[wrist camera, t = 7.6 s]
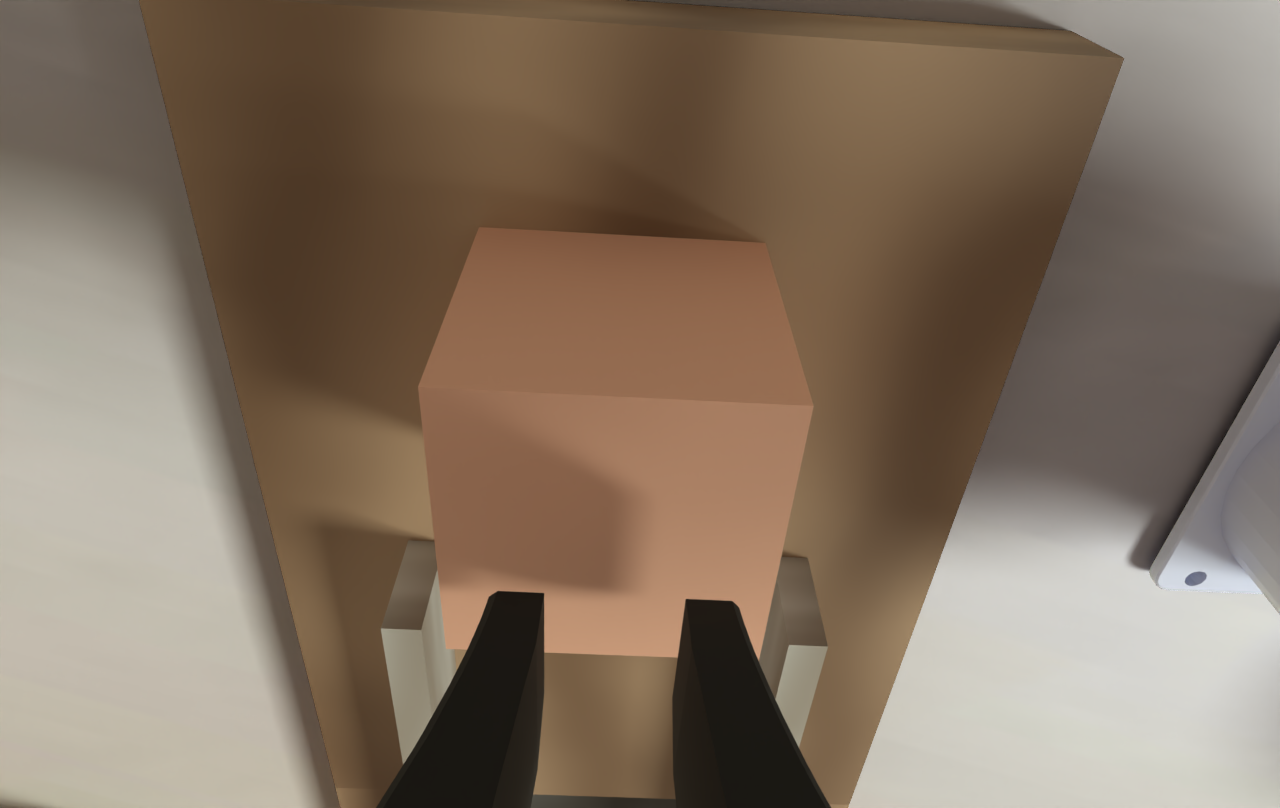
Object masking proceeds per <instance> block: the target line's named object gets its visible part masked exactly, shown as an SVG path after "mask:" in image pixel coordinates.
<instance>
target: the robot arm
mask: <svg viewBox="0 0 1280 808" xmlns="http://www.w3.org/2000/svg"><path fill="white" fill-rule="evenodd" d="M1149 573H1150V576H1151V578H1152V580H1153V581H1154V583H1155V584H1156V585H1157V586H1158V587H1159V588H1161V589H1165V590H1179V591H1201V592H1224V593H1247V594H1264V595H1265V597H1266V598H1267V599H1268V600H1269V602H1270V603H1271V604H1272V605H1273V607H1274V608H1275V609H1276V610H1277V612H1278V613H1279V614H1280V341H1279V343H1278V345H1277V347H1276V348H1275V350H1274V352H1273V354H1272V355H1271V357H1270V359H1269V361H1268V362H1267V364H1266V366H1265V368H1264V369H1263V371H1262V373H1261V375H1260V376H1259V378H1258V380H1257V382H1256V383H1255V385H1254V387H1253V389H1252V390H1251V392H1250V394H1249V396H1248V397H1247V399H1246V401H1245V403H1244V404H1243V406H1242V408H1241V410H1240V411H1239V413H1238V415H1237V417H1236V418H1235V420H1234V422H1233V424H1232V425H1231V427H1230V429H1229V431H1228V432H1227V434H1226V436H1225V438H1224V439H1223V441H1222V443H1221V445H1220V446H1219V448H1218V450H1217V452H1216V453H1215V455H1214V457H1213V459H1212V460H1211V462H1210V464H1209V466H1208V467H1207V469H1206V471H1205V473H1204V474H1203V476H1202V478H1201V480H1200V482H1199V483H1198V485H1197V487H1196V489H1195V490H1194V492H1193V494H1192V496H1191V497H1190V499H1189V501H1188V503H1187V504H1186V506H1185V508H1184V510H1183V511H1182V513H1181V515H1180V517H1179V518H1178V520H1177V522H1176V524H1175V525H1174V527H1173V529H1172V531H1171V532H1170V534H1169V536H1168V538H1167V539H1166V541H1165V543H1164V545H1163V546H1162V548H1161V550H1160V552H1159V553H1158V555H1157V557H1156V559H1155V560H1154V562H1153V564H1152V566H1151V568H1150V571H1149ZM543 702H544V593H535V592H511V591H497V592H495V593H494V594H492V595H491V596H489V598H488V601H487V603H486V606H485V609H484V612H483V614H482V617H481V619H480V622H479V624H478V626H477V629H476V631H475V633H474V636H473V638H472V640H471V642H470V645H469V647H468V649H467V651H466V653H465V655H464V657H463V659H462V661H461V663H460V665H459V667H458V669H457V671H456V673H455V675H454V677H453V679H452V681H451V683H450V685H449V687H448V688H447V690H446V692H445V694H444V696H443V697H442V699H441V701H440V703H439V705H438V706H437V708H436V710H435V712H434V714H433V715H432V717H431V719H430V721H429V722H428V724H427V726H426V728H425V730H424V731H423V733H422V735H421V737H420V738H419V740H418V742H417V743H416V745H415V747H414V748H413V750H412V752H411V753H410V755H409V756H408V758H407V760H406V761H405V763H404V764H403V766H402V767H401V769H400V771H399V772H398V774H397V775H396V777H395V778H394V780H393V782H392V783H391V785H390V786H389V788H388V790H387V791H386V793H385V794H384V796H383V797H382V799H381V801H380V802H379V804H378V805H377V807H376V808H531V803H532V798H533V792H534V787H535V781H536V776H537V770H538V759H539V748H540V737H541V726H542V714H543ZM672 724H673V778H674V788H675V798H676V807H677V808H831V806H830V805H829V803H828V801H827V799H826V798H825V796H824V794H823V792H822V791H821V789H820V787H819V785H818V783H817V781H816V780H815V778H814V776H813V774H812V772H811V770H810V768H809V767H808V765H807V763H806V761H805V759H804V757H803V755H802V753H801V751H800V749H799V747H798V745H797V743H796V741H795V739H794V737H793V735H792V733H791V731H790V729H789V727H788V725H787V723H786V721H785V719H784V717H783V715H782V713H781V711H780V708H779V706H778V704H777V702H776V700H775V698H774V695H773V693H772V691H771V689H770V686H769V684H768V682H767V680H766V677H765V675H764V673H763V670H762V668H761V666H760V663H759V661H758V658H757V656H756V653H755V651H754V648H753V646H752V643H751V641H750V638H749V635H748V632H747V630H746V627H745V624H744V621H743V618H742V615H741V612H740V608H739V607H738V606H737V605H736V604H735V603H734V602H733V601H724V600H701V599H686V600H685V608H684V615H683V622H682V630H681V637H680V644H679V652H678V659H677V666H676V674H675V681H674V688H673V696H672Z"/></svg>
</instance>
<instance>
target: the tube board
mask: <svg viewBox="0 0 1280 808" xmlns="http://www.w3.org/2000/svg"><path fill="white" fill-rule="evenodd" d="M139 3H140V7H141V11H142V15H143V19H144V23H145V27H146V31H147V35H148V39H149V43H150V47H151V51H152V55H153V59H154V63H155V67H156V71H157V75H158V79H159V83H160V87H161V91H162V95H163V99H164V103H165V107H166V111H167V115H168V119H169V123H170V127H171V131H172V135H173V139H174V143H175V147H176V151H177V155H178V159H179V163H180V167H181V171H182V175H183V179H184V183H185V187H186V191H187V195H188V199H189V203H190V207H191V211H192V215H193V219H194V223H195V227H196V231H197V235H198V239H199V243H200V247H201V251H202V255H203V259H204V263H205V267H206V271H207V275H208V279H209V283H210V287H211V291H212V295H213V299H214V303H215V307H216V311H217V315H218V319H219V323H220V327H221V331H222V335H223V339H224V344H225V348H226V352H227V356H228V360H229V364H230V368H231V372H232V376H233V380H234V384H235V388H236V392H237V396H238V400H239V404H240V408H241V412H242V416H243V420H244V424H245V428H246V432H247V436H248V440H249V444H250V448H251V452H252V456H253V460H254V464H255V468H256V472H257V476H258V480H259V484H260V488H261V492H262V496H263V500H264V504H265V508H266V512H267V516H268V520H269V524H270V528H271V532H272V536H273V540H274V544H275V548H276V552H277V556H278V560H279V564H280V568H281V572H282V576H283V580H284V584H285V588H286V592H287V596H288V600H289V604H290V608H291V612H292V616H293V620H294V624H295V628H296V632H297V636H298V640H299V644H300V648H301V652H302V656H303V660H304V664H305V668H306V672H307V676H308V680H309V684H310V688H311V692H312V696H313V700H314V704H315V708H316V712H317V716H318V720H319V724H320V728H321V732H322V736H323V740H324V744H325V748H326V752H327V756H328V760H329V764H330V768H331V772H332V776H333V780H334V784H335V788H336V792H337V796H338V800H339V804H340V808H376V807H377V805H378V804H379V802H380V801H381V799H382V797H383V796H384V794H385V793H386V791H387V790H388V788H389V786H390V785H391V783H392V782H393V780H394V778H395V777H396V775H397V774H398V772H399V771H400V769H401V767H402V766H403V764H404V763H405V761H406V760H407V758H408V756H409V755H410V753H411V752H412V750H413V748H414V747H415V745H416V743H417V742H418V740H419V738H420V737H421V735H422V733H423V731H424V730H425V728H426V726H427V724H428V722H429V721H430V719H431V717H432V715H433V714H434V712H435V710H436V708H437V706H438V705H439V703H440V701H441V699H442V697H443V696H444V694H445V692H446V690H447V688H448V687H449V685H450V683H451V681H452V679H453V677H454V675H455V673H456V671H457V669H458V667H459V665H460V663H461V661H462V659H463V657H464V655H465V653H466V651H467V650H462V649H446V645H445V635H444V626H443V617H442V607H441V598H440V589H439V579H438V570H437V561H436V551H435V542H434V533H433V523H432V514H431V504H430V495H429V486H428V476H427V467H426V458H425V448H424V439H423V430H422V420H421V411H420V402H419V392H418V386H419V383H420V380H421V378H422V375H423V373H424V370H425V367H426V365H427V362H428V359H429V357H430V354H431V352H432V349H433V346H434V344H435V341H436V338H437V336H438V333H439V331H440V328H441V325H442V323H443V320H444V318H445V315H446V312H447V310H448V307H449V304H450V302H451V299H452V297H453V294H454V291H455V289H456V286H457V283H458V281H459V278H460V276H461V273H462V270H463V268H464V265H465V262H466V260H467V257H468V255H469V252H470V249H471V247H472V244H473V242H474V239H475V236H476V234H477V231H478V228H479V227H487V228H505V229H524V230H542V231H560V232H578V233H596V234H614V235H633V236H651V237H669V238H687V239H705V240H724V241H742V242H760V243H766V247H767V250H768V253H769V257H770V260H771V263H772V267H773V270H774V274H775V277H776V280H777V284H778V287H779V290H780V294H781V297H782V301H783V304H784V307H785V311H786V314H787V318H788V321H789V324H790V328H791V331H792V334H793V338H794V341H795V345H796V348H797V351H798V355H799V358H800V361H801V365H802V368H803V372H804V375H805V378H806V382H807V385H808V389H809V392H810V395H811V399H812V402H813V405H814V407H813V412H812V416H811V421H810V426H809V430H808V435H807V440H806V444H805V449H804V454H803V458H802V463H801V468H800V472H799V477H798V481H797V486H796V491H795V495H794V500H793V505H792V509H791V514H790V519H789V523H788V528H787V533H786V537H785V542H784V547H783V551H782V556H781V560H780V565H779V570H778V574H777V579H776V584H775V588H774V593H773V598H772V602H771V607H770V612H769V616H768V621H767V626H766V630H765V635H764V639H763V644H762V649H761V653H760V658H759V663H760V666H761V668H762V670H763V673H764V675H765V677H766V680H767V682H768V684H769V686H770V689H771V691H772V693H773V695H774V698H775V700H776V702H777V704H778V706H779V708H780V711H781V713H782V715H783V717H784V719H785V721H786V723H787V725H788V727H789V729H790V731H791V733H792V735H793V737H794V739H795V741H796V743H797V745H798V747H799V749H800V751H801V753H802V755H803V757H804V759H805V761H806V763H807V765H808V767H809V768H810V770H811V772H812V774H813V776H814V778H815V780H816V781H817V783H818V785H819V787H820V789H821V791H822V792H823V794H824V796H825V798H826V799H827V801H828V803H829V805H830V806H831V808H848V806H849V803H850V801H851V798H852V795H853V793H854V790H855V787H856V784H857V782H858V779H859V776H860V774H861V771H862V768H863V765H864V763H865V760H866V757H867V755H868V752H869V749H870V746H871V744H872V741H873V738H874V736H875V733H876V730H877V727H878V725H879V722H880V719H881V717H882V714H883V711H884V708H885V706H886V703H887V700H888V698H889V695H890V692H891V689H892V687H893V684H894V681H895V679H896V676H897V673H898V670H899V668H900V665H901V662H902V660H903V657H904V654H905V652H906V649H907V646H908V643H909V641H910V638H911V635H912V633H913V630H914V627H915V624H916V622H917V619H918V616H919V614H920V611H921V608H922V605H923V603H924V600H925V597H926V595H927V592H928V589H929V586H930V584H931V581H932V578H933V576H934V573H935V570H936V567H937V565H938V562H939V559H940V557H941V554H942V551H943V548H944V546H945V543H946V540H947V538H948V535H949V532H950V529H951V527H952V524H953V521H954V519H955V516H956V513H957V510H958V508H959V505H960V502H961V500H962V497H963V494H964V491H965V489H966V486H967V483H968V481H969V478H970V475H971V473H972V470H973V467H974V464H975V462H976V459H977V456H978V454H979V451H980V448H981V445H982V443H983V440H984V437H985V435H986V432H987V429H988V426H989V424H990V421H991V418H992V416H993V413H994V410H995V407H996V405H997V402H998V399H999V397H1000V394H1001V391H1002V388H1003V386H1004V383H1005V380H1006V378H1007V375H1008V372H1009V369H1010V367H1011V364H1012V361H1013V359H1014V356H1015V353H1016V350H1017V348H1018V345H1019V342H1020V340H1021V337H1022V334H1023V331H1024V329H1025V326H1026V323H1027V321H1028V318H1029V315H1030V312H1031V310H1032V307H1033V304H1034V302H1035V299H1036V296H1037V294H1038V291H1039V288H1040V285H1041V283H1042V280H1043V277H1044V275H1045V272H1046V269H1047V266H1048V264H1049V261H1050V258H1051V256H1052V253H1053V250H1054V247H1055V245H1056V242H1057V239H1058V237H1059V234H1060V231H1061V228H1062V226H1063V223H1064V220H1065V218H1066V215H1067V212H1068V209H1069V207H1070V204H1071V201H1072V199H1073V196H1074V193H1075V190H1076V188H1077V185H1078V182H1079V180H1080V177H1081V174H1082V171H1083V169H1084V166H1085V163H1086V161H1087V158H1088V155H1089V152H1090V150H1091V147H1092V144H1093V142H1094V139H1095V136H1096V134H1097V131H1098V128H1099V125H1100V123H1101V120H1102V117H1103V115H1104V112H1105V109H1106V106H1107V104H1108V101H1109V98H1110V96H1111V93H1112V90H1113V87H1114V85H1115V82H1116V79H1117V77H1118V74H1119V71H1120V68H1121V66H1122V63H1123V60H1124V58H1123V57H1121V56H1119V55H1117V54H1115V53H1113V52H1111V51H1109V50H1107V49H1105V48H1103V47H1101V46H1099V45H1097V44H1095V43H1093V42H1092V41H1090V40H1088V39H1086V38H1084V37H1082V36H1080V35H1078V34H1076V33H1074V32H1072V31H1066V30H1051V29H1037V28H1022V27H1008V26H993V25H979V24H964V23H950V22H935V21H921V20H906V19H892V18H877V17H862V16H848V15H833V14H819V13H804V12H790V11H775V10H761V9H746V8H732V7H717V6H703V5H688V4H674V3H659V2H645V1H630V0H139ZM677 659H678V658H677V657H650V656H623V655H596V654H570V653H544V702H543V714H542V726H541V737H540V748H539V759H538V770H537V776H536V781H535V787H534V792H533V798H532V803H531V808H677V807H676V798H675V788H674V778H673V724H672V696H673V688H674V681H675V674H676V666H677Z"/></svg>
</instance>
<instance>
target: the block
mask: <svg viewBox="0 0 1280 808" xmlns="http://www.w3.org/2000/svg"><path fill="white" fill-rule="evenodd" d="M418 392H419V402H420V411H421V420H422V430H423V439H424V448H425V458H426V467H427V476H428V486H429V495H430V504H431V514H432V523H433V533H434V542H435V551H436V561H437V570H438V579H439V589H440V598H441V607H442V617H443V626H444V635H445V645H446V649H462V650H467V649H468V647H469V645H470V642H471V640H472V638H473V636H474V633H475V631H476V629H477V626H478V624H479V622H480V619H481V617H482V614H483V612H484V609H485V606H486V603H487V601H488V598H489V596H491V595H492V594H494V593H495V592H497V591H511V592H535V593H544V653H570V654H596V655H623V656H650V657H677V658H678V652H679V644H680V637H681V630H682V622H683V615H684V608H685V600H686V599H701V600H724V601H733V602H734V603H735V604H736V605H737V606H738V607H739V608H740V612H741V615H742V618H743V621H744V624H745V627H746V630H747V632H748V635H749V638H750V641H751V643H752V646H753V648H754V651H755V653H756V656H757V658H758V661H759V658H760V653H761V649H762V644H763V639H764V635H765V630H766V626H767V621H768V616H769V612H770V607H771V602H772V598H773V593H774V588H775V584H776V579H777V574H778V570H779V565H780V560H781V556H782V551H783V547H784V542H785V537H786V533H787V528H788V523H789V519H790V514H791V509H792V505H793V500H794V495H795V491H796V486H797V481H798V477H799V472H800V468H801V463H802V458H803V454H804V449H805V444H806V440H807V435H808V430H809V426H810V421H811V416H812V412H813V407H814V405H813V402H812V399H811V395H810V392H809V389H808V385H807V382H806V378H805V375H804V372H803V368H802V365H801V361H800V358H799V355H798V351H797V348H796V345H795V341H794V338H793V334H792V331H791V328H790V324H789V321H788V318H787V314H786V311H785V307H784V304H783V301H782V297H781V294H780V290H779V287H778V284H777V280H776V277H775V274H774V270H773V267H772V263H771V260H770V257H769V253H768V250H767V247H766V243H760V242H742V241H724V240H705V239H687V238H669V237H651V236H633V235H614V234H596V233H578V232H560V231H542V230H524V229H505V228H487V227H479V228H478V231H477V234H476V236H475V239H474V242H473V244H472V247H471V249H470V252H469V255H468V257H467V260H466V262H465V265H464V268H463V270H462V273H461V276H460V278H459V281H458V283H457V286H456V289H455V291H454V294H453V297H452V299H451V302H450V304H449V307H448V310H447V312H446V315H445V318H444V320H443V323H442V325H441V328H440V331H439V333H438V336H437V338H436V341H435V344H434V346H433V349H432V352H431V354H430V357H429V359H428V362H427V365H426V367H425V370H424V373H423V375H422V378H421V380H420V383H419V386H418Z"/></svg>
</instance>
